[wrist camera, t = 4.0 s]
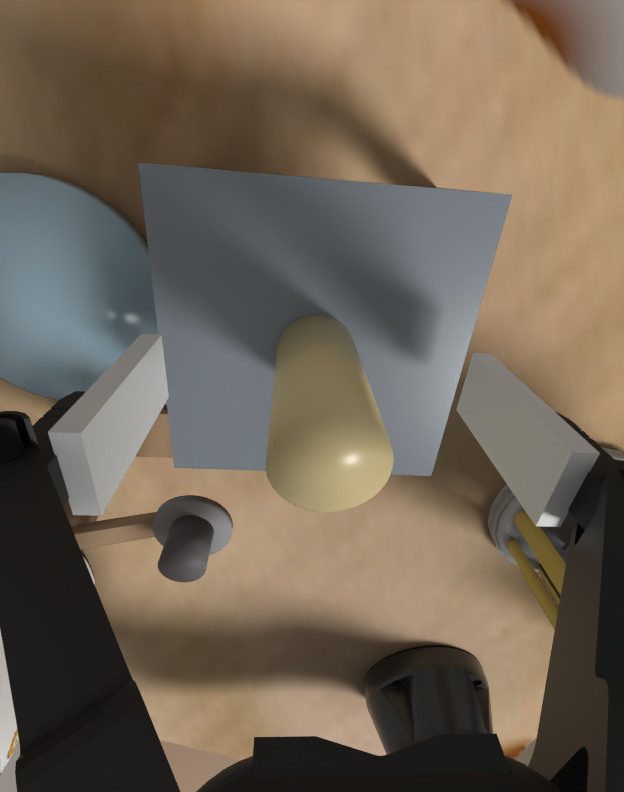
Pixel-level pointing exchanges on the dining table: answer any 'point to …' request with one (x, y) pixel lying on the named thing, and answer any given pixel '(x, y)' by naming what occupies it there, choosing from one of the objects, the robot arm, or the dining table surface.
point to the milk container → (11, 705)
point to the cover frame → (313, 322)
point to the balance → (164, 521)
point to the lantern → (533, 545)
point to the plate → (67, 285)
